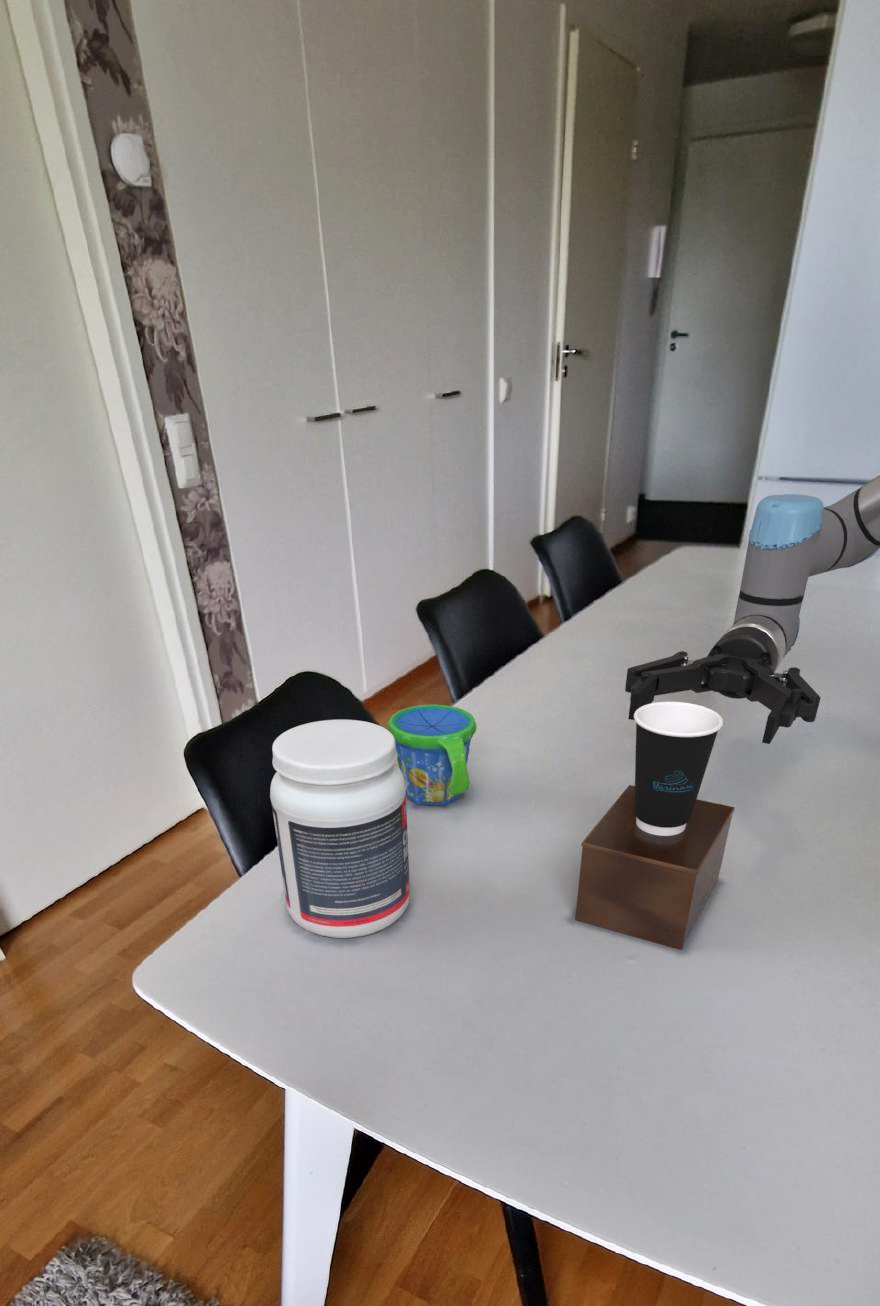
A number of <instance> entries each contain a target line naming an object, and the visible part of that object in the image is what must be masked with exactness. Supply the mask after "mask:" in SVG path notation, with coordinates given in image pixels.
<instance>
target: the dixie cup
mask: <svg viewBox="0 0 880 1306" xmlns="http://www.w3.org/2000/svg"><path fill="white" fill-rule="evenodd" d="M633 721H634V722H635V759H634V760H635V761H634V762H635V765H634V786H635V802H634V813H635V816H636V824H637V826H638V827H639V828H640V829H641V830H643V831H645V832H647V833H650V834H654V835H659V836H671V835H676V834H679V833H681V832H683V831H684V829H685V827H686V824H687V823H688V822H689V820H690V818H691V815H692V812H693V809H694V806H695V802H696V799H698V796H699V793H700V790H701V787H702V784H703V779H704V778H705V777H704V776H705V773H706V770H707V768H708V764H709V760H710V758H711V755H712V751H713V747H714V746H715V745H714V744H715V742H716V738H717V736H718V732H719V730H721V729H722V727H723V725H724V719H723V717H722V716H721V714H719V713H718V712H717V711H715V710H713V709H711V708H709V707H706V706H703V705H700V704H696V703H692V702H691V703H690V702H684V701H658V702H652V703H651V704H647V705H644V706H642V707H640V708H639V709H637V710H636V711H635V713H634V720H633Z"/></svg>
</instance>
